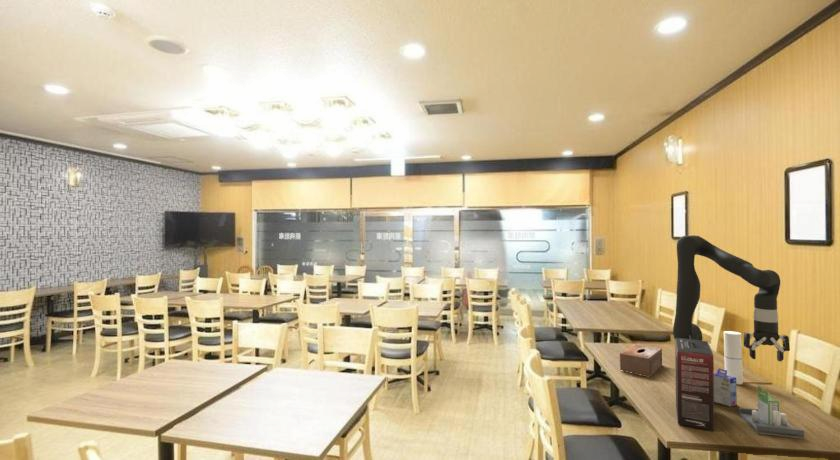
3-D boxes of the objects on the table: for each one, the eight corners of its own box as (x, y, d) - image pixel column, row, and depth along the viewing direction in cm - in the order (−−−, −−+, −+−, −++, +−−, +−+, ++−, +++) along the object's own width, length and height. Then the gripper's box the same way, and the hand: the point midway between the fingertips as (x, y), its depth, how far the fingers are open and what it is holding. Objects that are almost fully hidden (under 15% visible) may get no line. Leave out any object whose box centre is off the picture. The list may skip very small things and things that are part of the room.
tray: (757, 433, 153) (757, 411, 153) (739, 414, 169) (738, 394, 169) (804, 438, 148) (803, 416, 148) (780, 418, 164) (779, 398, 164)
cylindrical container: (727, 383, 204) (726, 333, 204) (723, 378, 210) (721, 330, 211) (745, 385, 201) (743, 334, 201) (739, 380, 207) (738, 331, 208)
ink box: (780, 427, 155) (779, 392, 155) (768, 426, 156) (767, 391, 156) (769, 419, 161) (768, 385, 162) (757, 418, 162) (756, 384, 163)
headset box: (675, 402, 181) (673, 329, 182) (710, 408, 175) (707, 332, 175) (677, 425, 160) (675, 342, 161) (717, 432, 154) (714, 346, 154)
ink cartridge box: (737, 405, 178) (736, 372, 178) (731, 407, 176) (730, 374, 176) (713, 397, 187) (712, 365, 187) (706, 399, 184) (705, 367, 185)
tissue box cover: (649, 377, 215) (648, 358, 215) (620, 371, 225) (619, 353, 225) (662, 365, 233) (661, 348, 233) (635, 360, 243) (634, 344, 243)
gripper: (748, 320, 162) (748, 360, 161) (792, 322, 157) (793, 364, 157) (740, 316, 169) (741, 355, 168) (783, 318, 164) (783, 358, 164)
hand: (766, 359), depth 162 cm, fingers open, 8 cm apart
